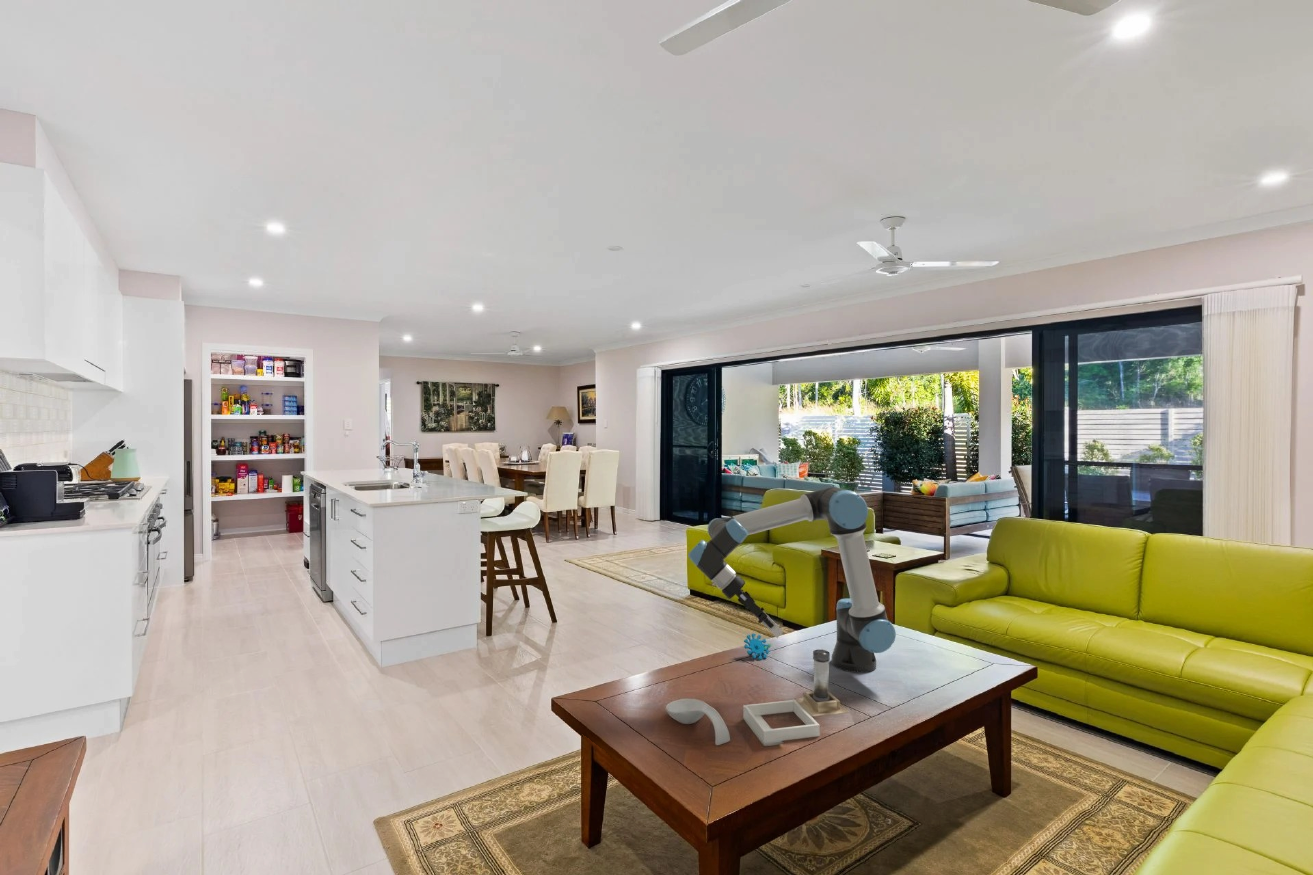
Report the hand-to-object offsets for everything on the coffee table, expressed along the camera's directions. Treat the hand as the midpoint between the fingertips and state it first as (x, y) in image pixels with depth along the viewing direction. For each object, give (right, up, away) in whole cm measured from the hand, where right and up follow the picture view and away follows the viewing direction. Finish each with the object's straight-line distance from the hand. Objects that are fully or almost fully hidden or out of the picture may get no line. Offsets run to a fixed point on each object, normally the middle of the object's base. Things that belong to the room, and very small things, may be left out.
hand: (777, 631), depth 201 cm
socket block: (+12, -21, -8) cm, 25 cm away
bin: (-3, -21, -20) cm, 29 cm away
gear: (-1, -20, +35) cm, 40 cm away
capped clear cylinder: (+12, -20, -8) cm, 24 cm away
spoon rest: (-26, -22, -18) cm, 38 cm away
